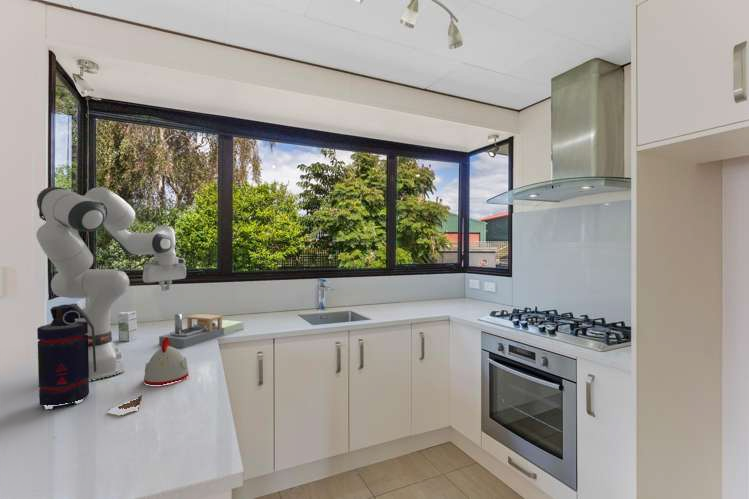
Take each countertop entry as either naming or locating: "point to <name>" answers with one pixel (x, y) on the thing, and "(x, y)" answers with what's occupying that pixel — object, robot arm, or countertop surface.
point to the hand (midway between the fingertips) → (165, 290)
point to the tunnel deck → (196, 338)
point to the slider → (179, 329)
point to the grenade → (64, 356)
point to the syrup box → (127, 325)
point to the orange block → (203, 322)
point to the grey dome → (166, 366)
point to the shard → (131, 403)
